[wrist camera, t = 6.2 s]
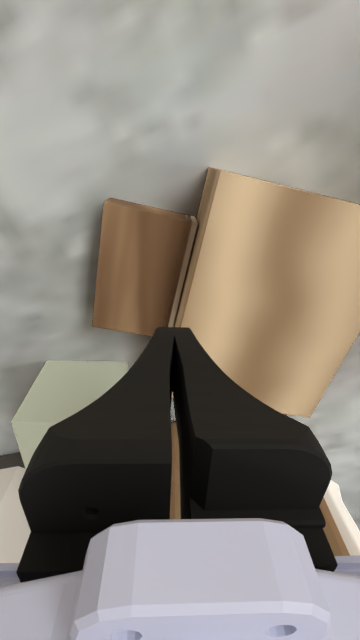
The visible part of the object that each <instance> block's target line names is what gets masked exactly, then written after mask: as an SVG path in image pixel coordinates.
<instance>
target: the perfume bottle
mask: <svg viewBox="0 0 360 640" xmlns="http://www.w3.org/2000/svg"><path fill="white" fill-rule="evenodd" d="M324 499H325V501H326V503H327V506H328V508H329V510H330V512H331V514H332V517H333V519H334V521H335V523H336V525H337V528H338V530H339V532H340V534H341V536H342V539H343V541H344V543H345V545H346V547H347V550H348V552H349V554H350V556H359V555H360V531H359V529H358V527H357V526H356V524H355V522H354V520H353V519H352V517H351V515H350V514H349V512H348V510H347V508H346V507H345V505H344V503H343V502H342V498H341V494H340V489H339V485H338V484H336V483H335V482H333V481H331V480H330V483H329V486H328V488H327V490H326V492H325V495H324Z"/></svg>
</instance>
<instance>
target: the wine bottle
mask: <svg viewBox="0 0 360 640" xmlns="http://www.w3.org/2000/svg"><path fill="white" fill-rule="evenodd" d="M25 471H26V469H25V466H24V463H23V459H22V456H21V453H15V454H9V455H4V456H0V563H20V560H21V557H22V555H23V552H24V549H25V546H26V544H27V541H28V538H29V535H30V532H31V530H30V528H29V525H28V522H27V519H26V517H25V514H24V511H23V508H22V505H21V503H20V500H19V492H18V489H19V486H20V483H21V480H22V478H23V476H24V473H25Z"/></svg>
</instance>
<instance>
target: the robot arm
mask: <svg viewBox="0 0 360 640" xmlns="http://www.w3.org/2000/svg"><path fill="white" fill-rule="evenodd" d="M172 392H173V401H174V409H175V417H176V425H177V433H178V443H179V466H180V514H181V519H170V498H171V475H172V435H171V415H170V409H171V399H172ZM331 476H332V469H331V464H330V462H329V460H328V458H327V456H326V455H325V453H324V451H323V449H322V447H321V445H320V444H319V442H318V440H317V439H316V437H315V436H314V434H313V433H312V431H311V430H310V428H309V427H308V426H306V425H304V424H302V423H300V422H298V421H296V420H294V419H292V418H290V417H288V416H286V415H284V414H282V413H280V412H278V411H276V410H275V409H273V408H271V407H269V406H268V405H266V404H264V403H263V402H261V401H260V400H258V399H257V398H255V397H254V396H252V395H251V394H250V393H248V392H247V391H245V390H244V389H243V388H241V387H240V386H239V385H238V384H236V383H235V382H234V381H233V380H232V379H231V378H229V377H228V376H227V375H226V374H225V373H224V372H223V371H222V370H221V369H220V368H219V367H218V365H217V364H216V363H215V362H214V361H213V360H212V359H211V357H210V356H209V355H208V354H207V352H206V351H205V350H204V348H203V347H202V346H201V344H200V343H199V341H198V340H197V338H196V337H195V335H194V333H193V332H192V330H191V329H190V328H189V327H158V328H156V329H155V332H154V334H153V336H152V338H151V340H150V342H149V344H148V345H147V347H146V348H145V350H144V351H143V353H142V354H141V356H140V357H139V358H138V360H137V361H136V362H135V363H134V365H133V366H132V367H131V368H130V369H129V371H128V372H127V373H126V374H125V375H124V376H123V377H122V378H121V379H120V380H119V381H118V382H117V383H116V384H115V385H114V386H112V387H111V388H110V389H109V390H108V391H107V392H106V393H104V394H103V395H102V396H101V397H99V398H98V399H97V400H95V401H94V402H92V403H91V404H89V405H88V406H86V407H85V408H83V409H82V410H80V411H78V412H77V413H75V414H73V415H71V416H70V417H68V418H66V419H64V420H62V421H60V422H59V423H57V424H55V425H53V426H51V427H49V429H48V430H47V432H46V433H45V435H44V437H43V438H42V440H41V442H40V443H39V445H38V447H37V448H36V450H35V452H34V454H33V456H32V458H31V460H30V462H29V464H28V467H27V469H26V471H25V473H24V476H23V478H22V480H21V483H20V486H19V489H18V492H19V500H20V503H21V505H22V508H23V511H24V514H25V517H26V519H27V522H28V525H29V528H30V530H31V532H30V535H29V538H28V541H27V544H26V546H25V549H24V552H23V555H22V557H21V560H20V563H0V640H360V555H359V556H334V554H333V552H332V549H331V547H330V544H329V542H328V540H327V537H326V535H325V532H324V530H323V528H324V527H325V525H326V522H325V518H324V516H323V514H322V511H321V509H320V507H319V506H320V504H321V501H322V499H323V497H324V495H325V492H326V490H327V488H328V486H329V483H330V480H331Z"/></svg>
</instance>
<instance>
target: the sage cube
mask: <svg viewBox="0 0 360 640" xmlns="http://www.w3.org/2000/svg"><path fill="white" fill-rule="evenodd" d="M127 372H128V362H120V361H46V363H45V364H44V366H43V368H42V370H41V371H40V373H39V375H38V376H37V378H36V380H35V382H34V383H33V385H32V387H31V388H30V390H29V392H28V394H27V395H26V397H25V399H24V400H23V402H22V404H21V406H20V407H19V409H18V411H17V412H16V414H15V416H14V418H13V419H12V421H11V425H12V428H13V431H14V434H15V437H16V441H17V444H18V447H19V450H20V453H21V456H22V459H23V463H24V466H25V469H27V467H28V464H29V462H30V460H31V458H32V456H33V454H34V452H35V450H36V448H37V447H38V445H39V443H40V442H41V440H42V438H43V437H44V435H45V433H46V432H47V430H48V429H49V427H51V426H53V425H55V424H57V423H59V422H60V421H62V420H64V419H66V418H68V417H70V416H71V415H73V414H75V413H77V412H78V411H80V410H82V409H83V408H85V407H86V406H88V405H89V404H91V403H92V402H94V401H95V400H97V399H98V398H99V397H101V396H102V395H103V394H104V393H106V392H107V391H108V390H109V389H110V388H111V387H112V386H114V385H115V384H116V383H117V382H118V381H119V380H120V379H121V378H122V377H123V376H124V375H125V374H126V373H127Z"/></svg>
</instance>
